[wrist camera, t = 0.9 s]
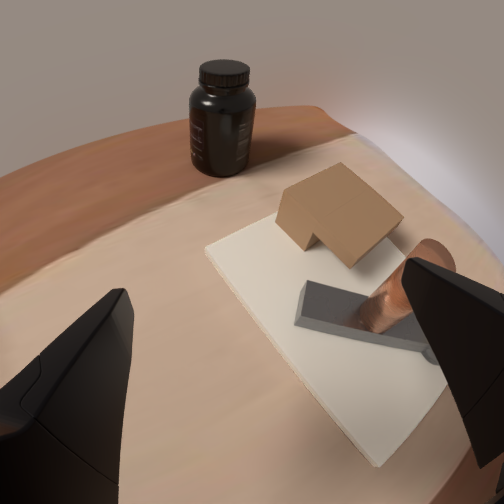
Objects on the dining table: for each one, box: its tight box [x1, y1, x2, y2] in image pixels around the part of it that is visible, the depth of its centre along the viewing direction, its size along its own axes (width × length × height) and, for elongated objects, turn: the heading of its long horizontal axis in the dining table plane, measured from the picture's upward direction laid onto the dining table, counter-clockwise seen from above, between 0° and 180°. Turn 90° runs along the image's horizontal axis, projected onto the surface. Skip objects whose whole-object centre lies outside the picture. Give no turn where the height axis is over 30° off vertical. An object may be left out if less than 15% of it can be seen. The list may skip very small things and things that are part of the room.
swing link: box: [294, 239, 456, 366], centre depth 18 cm, size 16×5×10 cm, turn 76°
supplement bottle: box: [189, 60, 256, 177], centre depth 28 cm, size 7×7×12 cm
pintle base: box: [205, 162, 448, 468], centre depth 22 cm, size 24×16×6 cm
